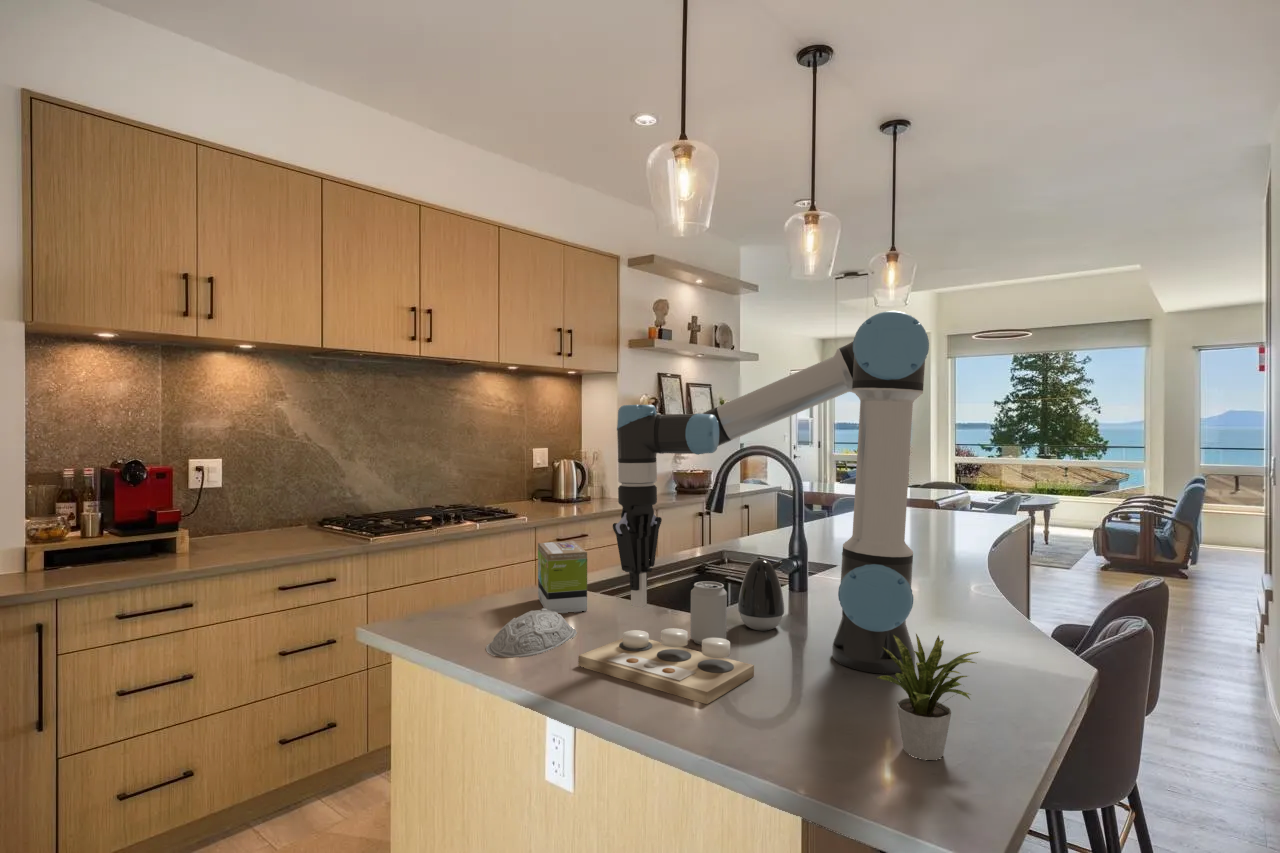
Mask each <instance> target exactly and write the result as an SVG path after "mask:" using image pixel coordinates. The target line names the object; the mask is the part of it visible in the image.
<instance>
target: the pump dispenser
mask: <svg viewBox="0 0 1280 853" xmlns="http://www.w3.org/2000/svg"><path fill="white" fill-rule="evenodd" d="M782 566H783V562H782V561H778V562H775V563H771V562H770V561H768V560H766V559H763V558H759V559H755V560H754V561H752V562H751V564H750V565H749V567H748V568H747V570H746V572H745V574H744V576H743V580H742V583H741V587H740V591H739V596H738V602H737V611H738V613H739V616H740V619H741V621H742V623H743V624H744V625H745V626H746V627H747V628H750V629H751V630H755V631H762V632H763V631H764V632H765V631H772V630H773V629H775V628H776V627H778V626H779V625H780V623H781V621H782V618H783V616H784V614H785V602H784V601H785V600H784V595H783V588H782V587H781V582H780V579H779V576H778V574H777V570H778V569H779V568H780V567H782Z"/></svg>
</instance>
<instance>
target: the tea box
mask: <svg viewBox="0 0 1280 853" xmlns="http://www.w3.org/2000/svg"><path fill="white" fill-rule="evenodd" d="M537 595H538V597H537V598H538V600H539V602H540V604H541V605H542V607H543V608H545V609H547V610H549V611H554V612H557V613H562V614H569V613H568V612H574V613H583V612H582V611H584V612H587V611H588V552H587V551H586V550H585V549H584V548H583V547H582V546H580V544H578V543H577V542H576V541H575V540H569V541H550V542H538V543H537Z"/></svg>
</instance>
